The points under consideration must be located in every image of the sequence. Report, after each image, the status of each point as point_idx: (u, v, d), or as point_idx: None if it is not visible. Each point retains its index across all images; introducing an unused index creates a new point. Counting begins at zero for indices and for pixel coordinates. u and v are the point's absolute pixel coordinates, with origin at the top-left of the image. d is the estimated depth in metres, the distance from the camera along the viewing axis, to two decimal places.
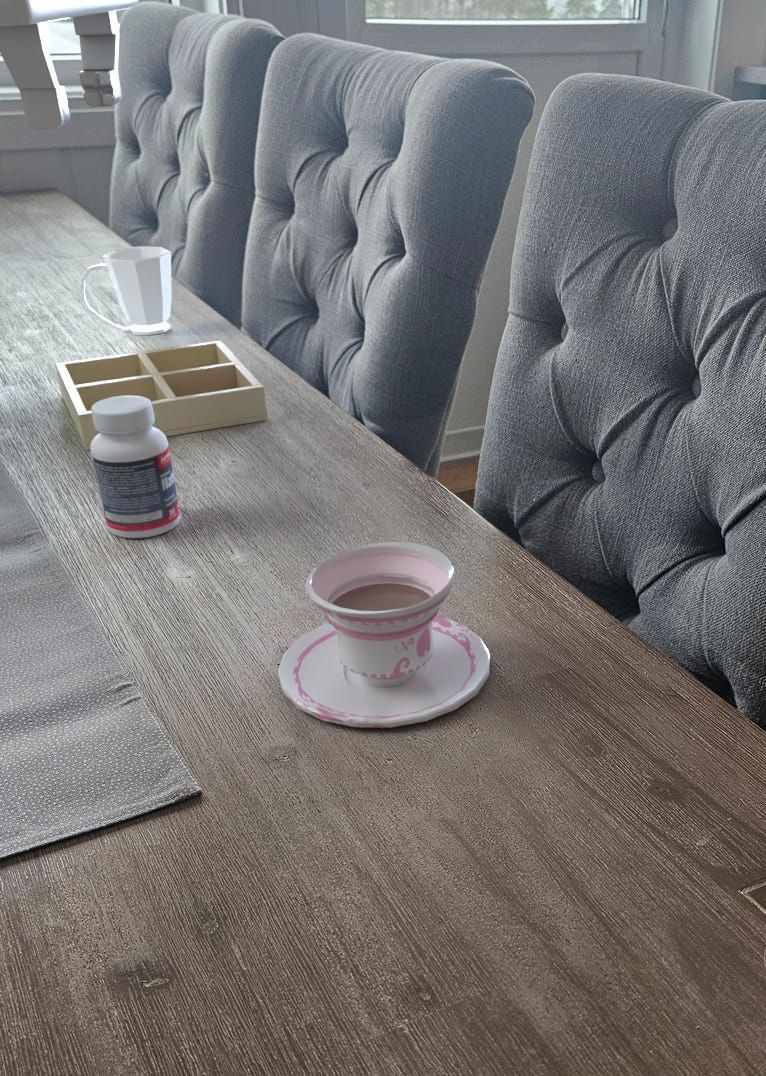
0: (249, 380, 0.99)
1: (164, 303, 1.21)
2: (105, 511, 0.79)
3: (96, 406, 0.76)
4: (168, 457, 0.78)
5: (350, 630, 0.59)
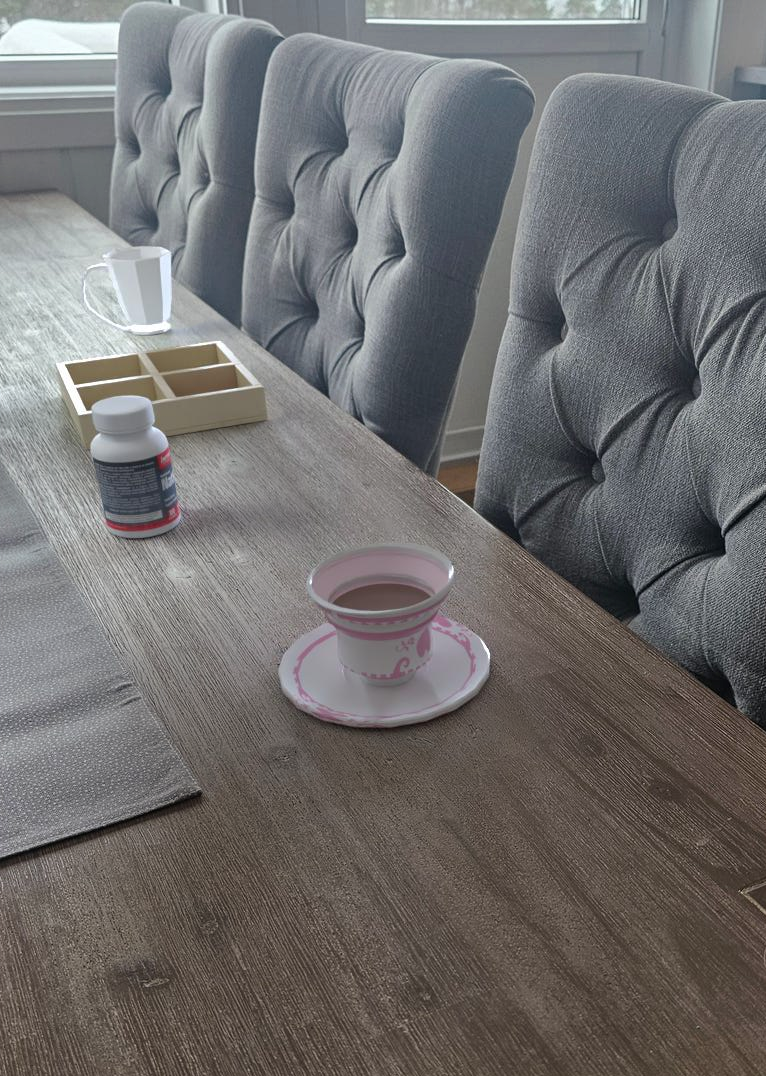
0: (249, 380, 0.99)
1: (164, 303, 1.21)
2: (105, 511, 0.79)
3: (96, 406, 0.76)
4: (168, 457, 0.78)
5: (350, 630, 0.59)
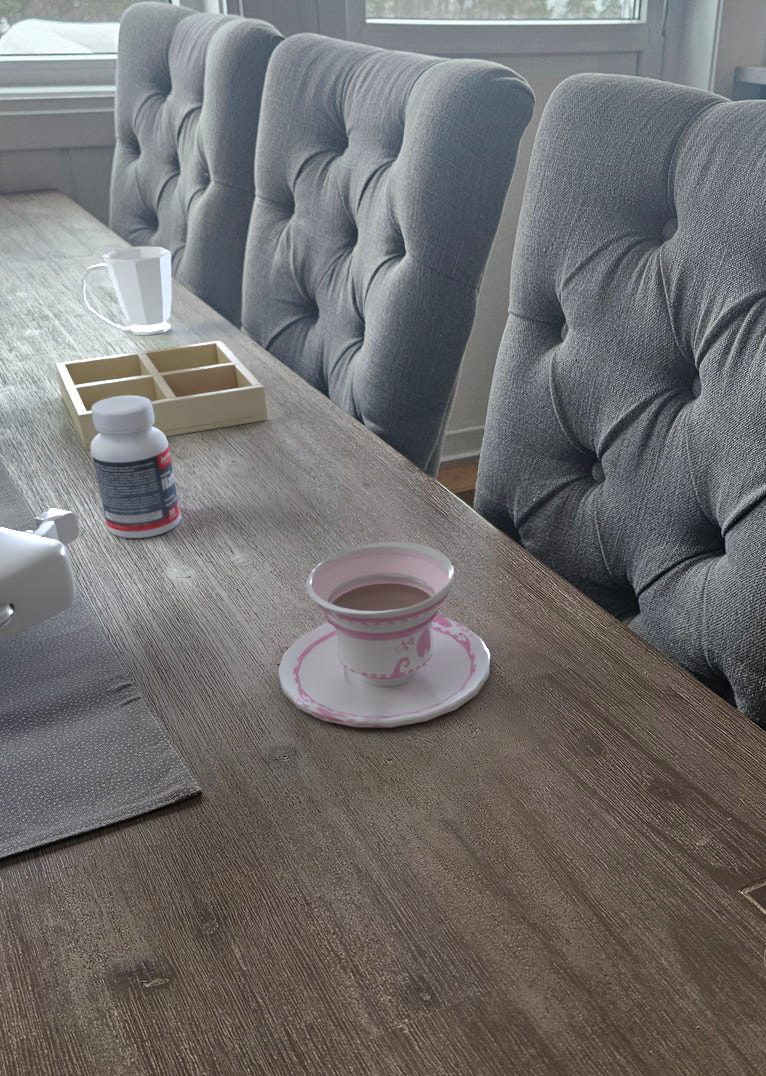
0: (249, 380, 0.99)
1: (164, 303, 1.21)
2: (105, 511, 0.79)
3: (96, 406, 0.76)
4: (168, 457, 0.78)
5: (350, 630, 0.59)
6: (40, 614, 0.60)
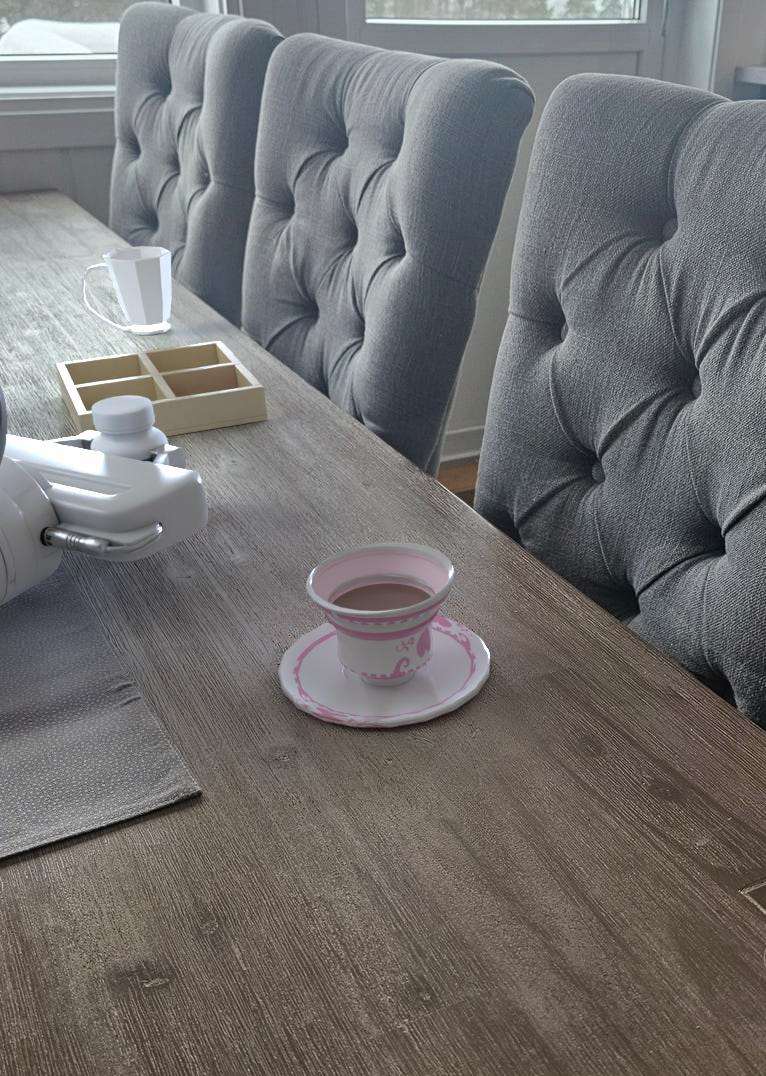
0: (249, 380, 0.99)
1: (164, 303, 1.21)
2: None
3: (96, 407, 0.76)
4: None
5: (350, 630, 0.59)
6: (181, 533, 0.70)
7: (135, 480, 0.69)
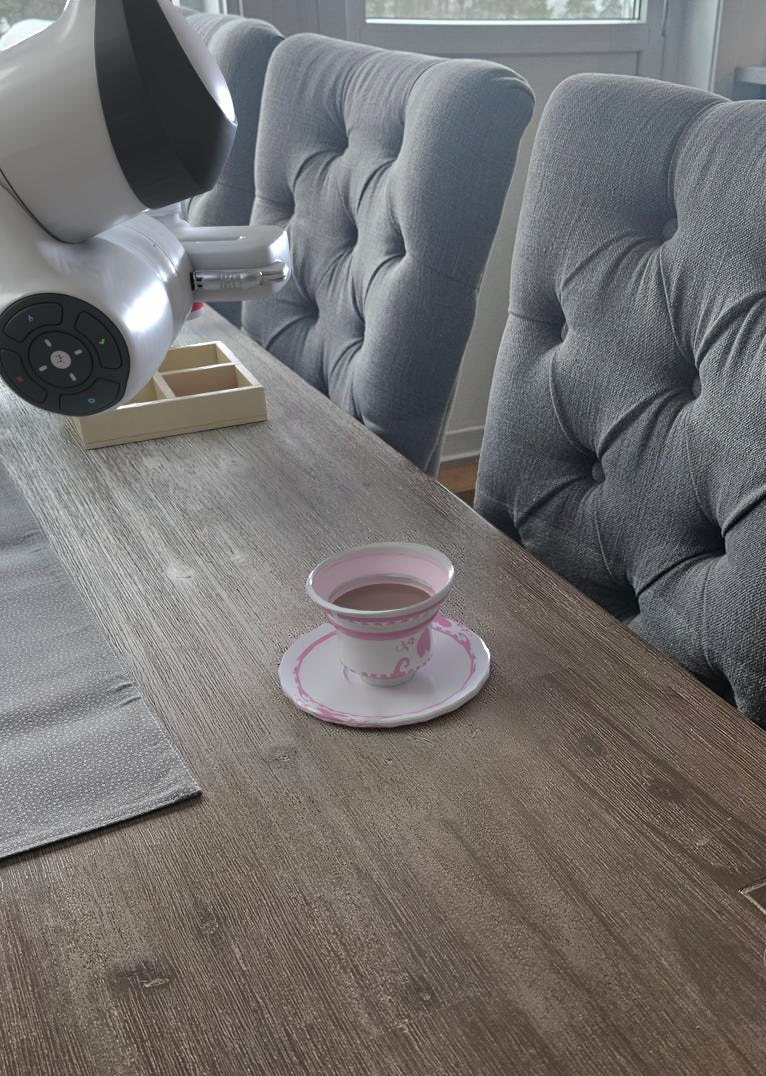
0: (249, 380, 0.99)
1: None
2: None
3: None
4: None
5: (350, 630, 0.59)
6: (285, 277, 0.78)
7: (234, 233, 0.77)
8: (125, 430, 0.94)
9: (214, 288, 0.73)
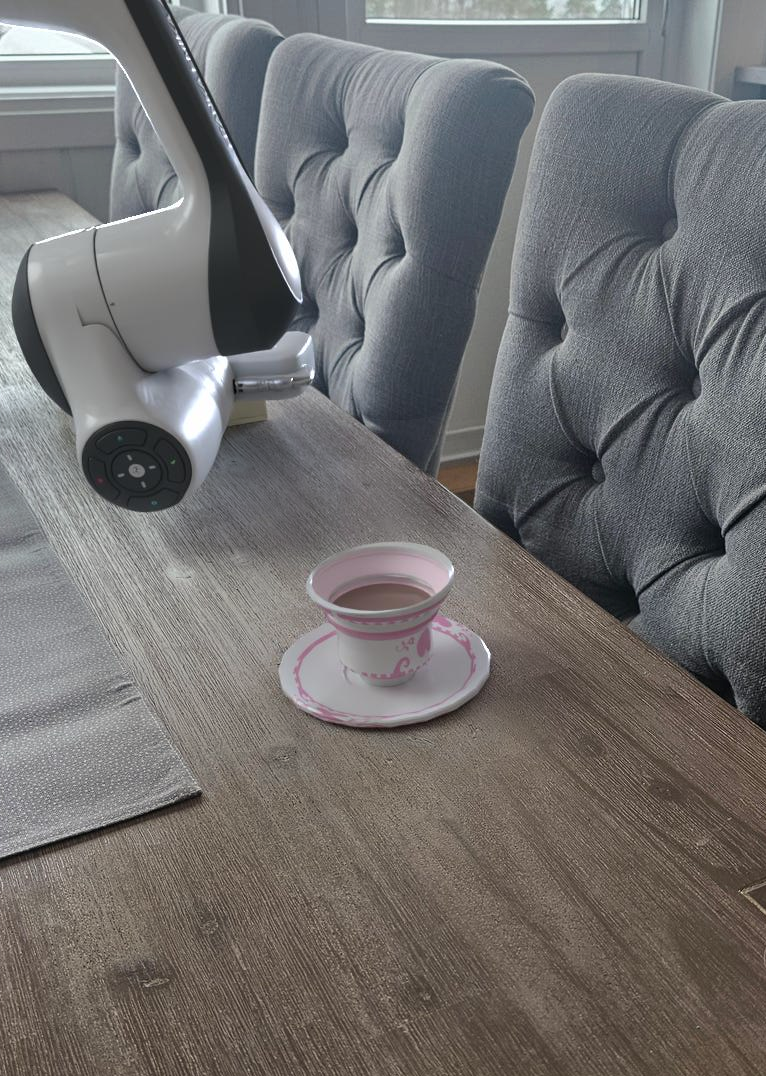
0: None
1: None
2: None
3: None
4: None
5: (350, 630, 0.59)
6: None
7: None
8: None
9: (253, 392, 0.87)
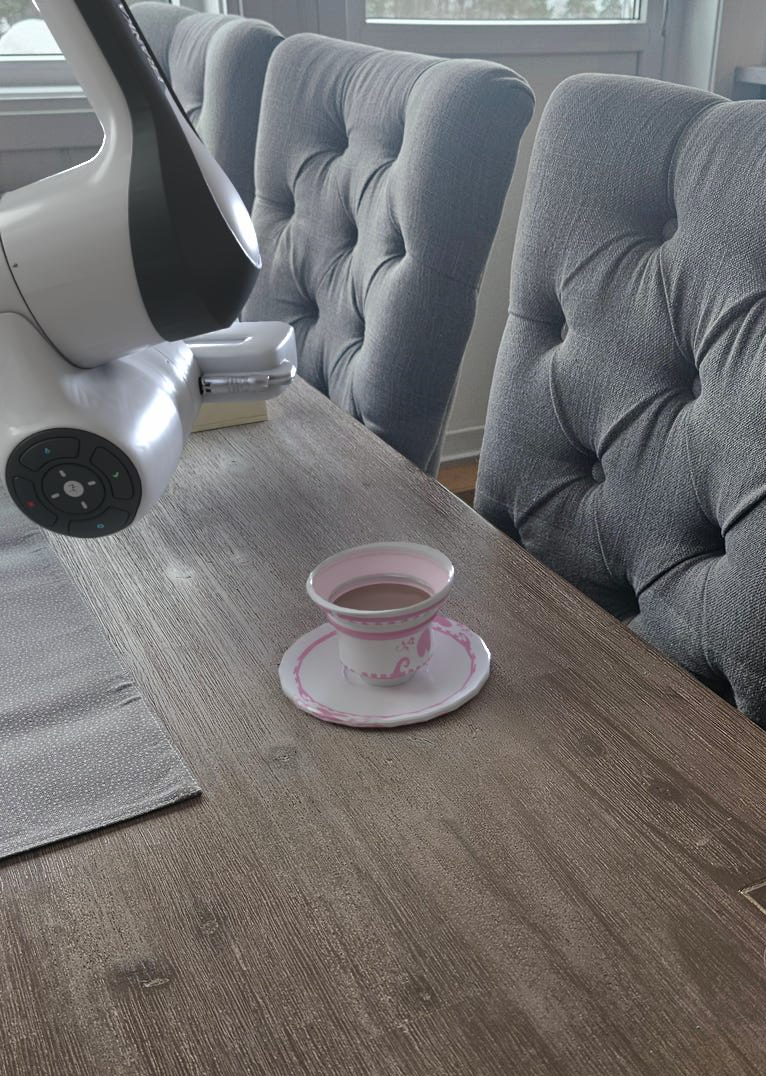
0: None
1: None
2: None
3: None
4: None
5: (350, 630, 0.59)
6: None
7: (242, 332, 0.77)
8: None
9: (222, 392, 0.73)
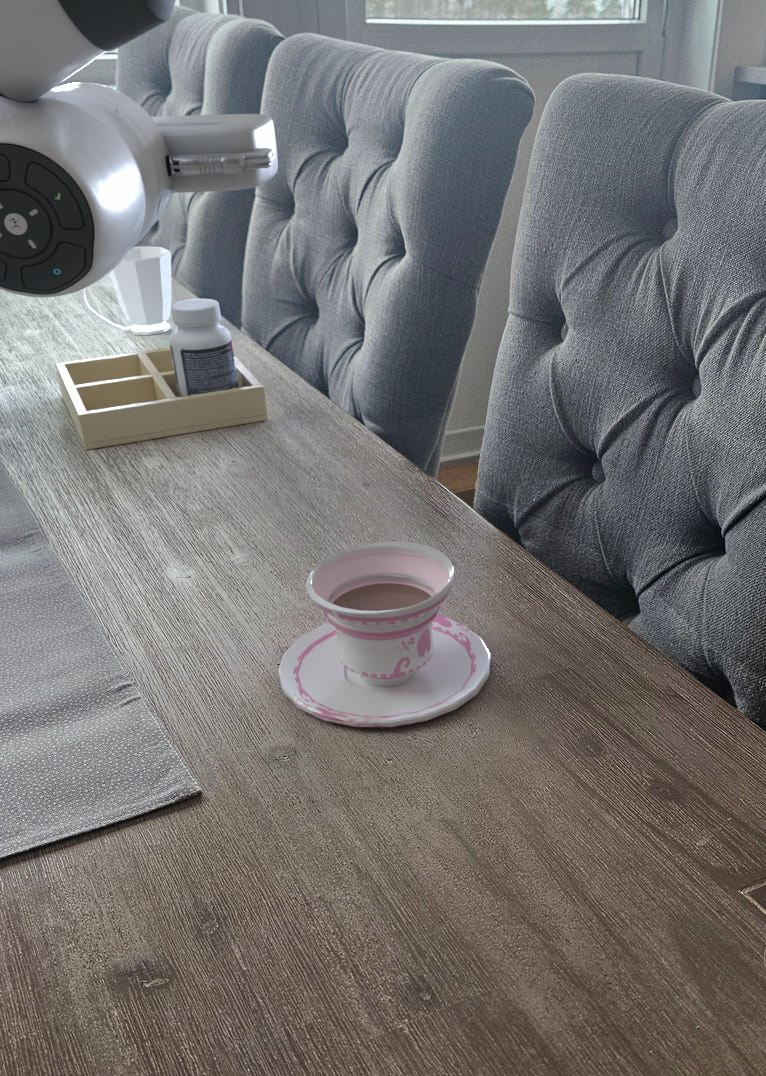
0: (249, 380, 0.99)
1: (164, 303, 1.21)
2: None
3: (178, 307, 0.94)
4: None
5: (350, 630, 0.59)
6: (272, 169, 0.72)
7: (215, 119, 0.70)
8: (125, 430, 0.94)
9: (193, 173, 0.66)
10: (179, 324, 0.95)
